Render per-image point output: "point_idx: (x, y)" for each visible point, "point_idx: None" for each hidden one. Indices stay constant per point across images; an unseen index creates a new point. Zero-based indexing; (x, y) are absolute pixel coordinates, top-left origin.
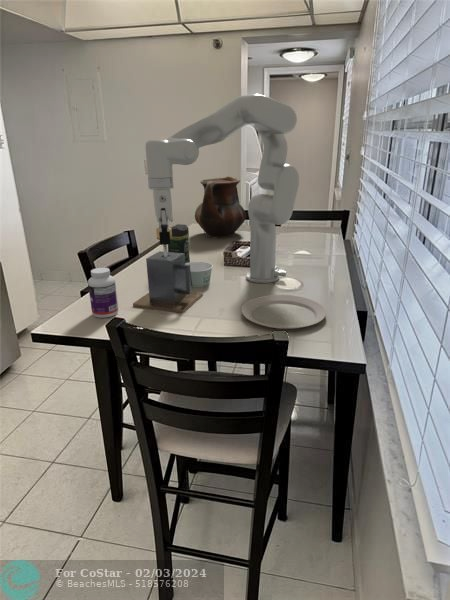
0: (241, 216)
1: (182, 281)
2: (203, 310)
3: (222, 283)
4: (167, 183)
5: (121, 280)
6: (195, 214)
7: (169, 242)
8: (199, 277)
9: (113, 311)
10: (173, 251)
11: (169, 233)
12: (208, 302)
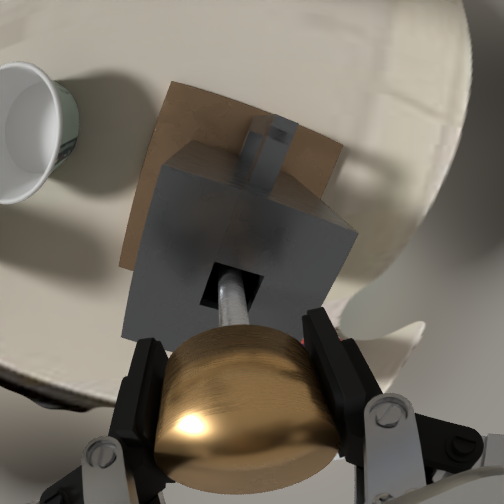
0: None
1: (223, 158)
2: (321, 77)
3: (53, 35)
4: None
5: (66, 364)
6: None
7: (326, 319)
8: (66, 107)
9: (339, 338)
10: None
11: (357, 379)
12: (247, 57)
